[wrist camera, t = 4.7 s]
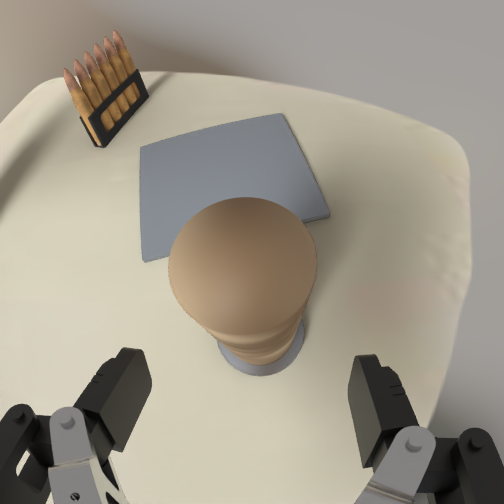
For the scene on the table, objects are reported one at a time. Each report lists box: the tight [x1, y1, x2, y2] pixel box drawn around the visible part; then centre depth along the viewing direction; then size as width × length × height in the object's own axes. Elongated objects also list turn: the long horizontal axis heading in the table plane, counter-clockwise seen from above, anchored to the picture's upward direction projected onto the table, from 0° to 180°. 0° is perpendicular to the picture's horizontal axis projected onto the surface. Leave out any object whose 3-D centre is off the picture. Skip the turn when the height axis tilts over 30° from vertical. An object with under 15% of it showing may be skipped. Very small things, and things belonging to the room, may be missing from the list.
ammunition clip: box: [63, 30, 149, 148], centre depth 28 cm, size 11×2×12 cm, turn 160°
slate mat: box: [140, 113, 330, 262], centre depth 27 cm, size 16×14×1 cm
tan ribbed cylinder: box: [168, 197, 317, 376], centre depth 15 cm, size 6×6×13 cm
